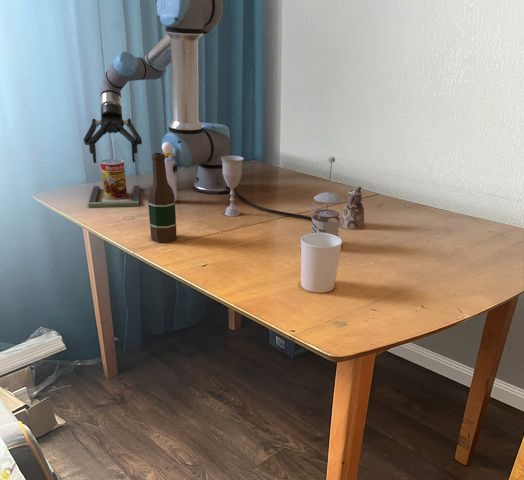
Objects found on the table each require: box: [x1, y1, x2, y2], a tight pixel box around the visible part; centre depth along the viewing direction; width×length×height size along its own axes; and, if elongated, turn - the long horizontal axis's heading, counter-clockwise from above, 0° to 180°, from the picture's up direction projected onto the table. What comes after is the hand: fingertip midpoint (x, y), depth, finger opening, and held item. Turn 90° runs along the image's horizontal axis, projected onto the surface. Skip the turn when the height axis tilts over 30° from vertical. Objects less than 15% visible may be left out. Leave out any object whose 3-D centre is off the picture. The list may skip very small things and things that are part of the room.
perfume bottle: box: [161, 142, 178, 202], centre depth 187 cm, size 6×6×20 cm
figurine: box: [340, 186, 365, 230], centre depth 173 cm, size 7×7×12 cm
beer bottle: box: [147, 152, 177, 244], centre depth 155 cm, size 8×8×24 cm
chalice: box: [221, 155, 244, 217], centre depth 178 cm, size 7×7×18 cm
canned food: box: [99, 158, 128, 200], centre depth 193 cm, size 8×8×12 cm
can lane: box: [88, 184, 141, 208], centre depth 194 cm, size 22×16×1 cm
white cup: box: [300, 232, 343, 294], centre depth 133 cm, size 10×10×12 cm
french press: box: [310, 156, 343, 237], centre depth 154 cm, size 10×12×25 cm
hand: (114, 160), depth 196 cm, fingers open, 13 cm apart
